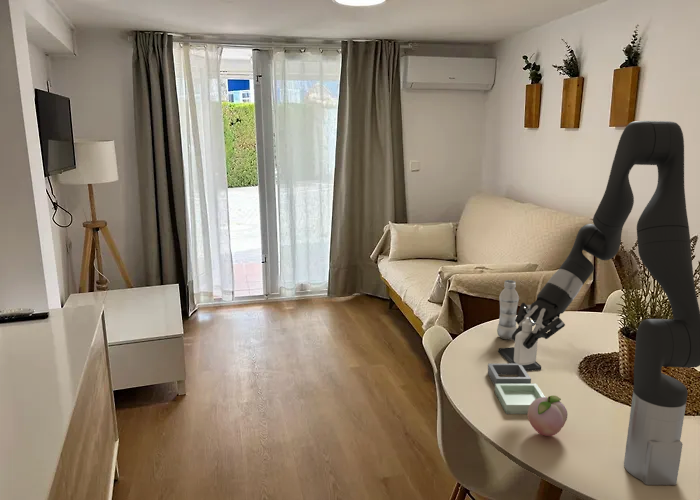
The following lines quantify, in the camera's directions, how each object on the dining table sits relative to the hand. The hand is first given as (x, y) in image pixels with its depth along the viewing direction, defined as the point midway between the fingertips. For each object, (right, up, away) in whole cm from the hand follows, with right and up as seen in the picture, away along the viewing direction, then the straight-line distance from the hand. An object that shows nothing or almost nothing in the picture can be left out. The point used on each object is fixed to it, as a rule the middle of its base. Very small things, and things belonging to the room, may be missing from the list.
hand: (520, 343), depth 130 cm
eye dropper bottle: (+2, -5, +2) cm, 6 cm away
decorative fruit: (+3, -20, -9) cm, 22 cm away
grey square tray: (+2, -13, +16) cm, 21 cm away
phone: (+9, -11, +29) cm, 33 cm away
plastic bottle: (+10, -7, +46) cm, 48 cm away
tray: (+2, -16, +5) cm, 17 cm away
